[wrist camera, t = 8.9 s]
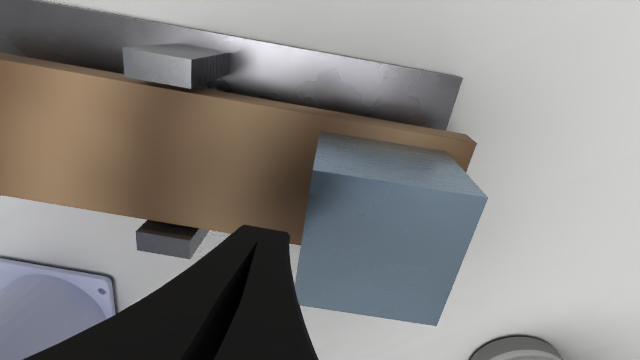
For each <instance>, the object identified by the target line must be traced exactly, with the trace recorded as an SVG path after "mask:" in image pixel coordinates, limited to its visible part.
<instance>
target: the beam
mask: <svg viewBox="0 0 640 360" xmlns="http://www.w3.org/2000/svg"><path fill="white" fill-rule="evenodd" d="M320 131H323V132H330V133H336V134H342V135H348V136H354V137H361V138H367V139H373V140H379V141H386V142H392V143H398V144H404V145H411V146H417V147H423V148H429V149H436V150H442V151H447V152H448V154H449V155H450V156H451V157H452V158H453V159H454V160H455V161H456V163H457V164H458V165H459V166H460V167H461V168H462V169H463V170H464V171H465V173H466V171H467V168H468V165H469V163H470V160H471V157H472V155H473V152H474V149H475V147H476V144H477V143H476V142H475V141H473V140H472V139H471V138H470V137H468V136H467V135H466V134H460V133H455V132H449V131H443V130H438V129H432V128H426V127H421V126H415V125H409V124H403V123H398V122H392V121H386V120H381V119H375V118H369V117H364V116H358V115H352V114H347V113H341V112H335V111H330V110H324V109H318V108H313V107H307V106H301V105H296V104H290V103H284V102H278V101H273V100H267V99H261V98H256V97H250V96H244V95H239V94H233V93H227V92H222V91H216V90H210V89H205V88H199V87H194V88H192V89H189V88H184V87H178V86H172V85H167V84H161V83H156V82H150V81H144V80H139V79H133V78H128V77H124V74H119V73H114V72H108V71H102V70H97V69H91V68H85V67H80V66H74V65H68V64H63V63H57V62H51V61H46V60H40V59H34V58H28V57H23V56H17V55H11V54H6V53H0V195H3V196H9V197H15V198H21V199H27V200H33V201H39V202H45V203H51V204H57V205H63V206H69V207H75V208H81V209H87V210H93V211H99V212H105V213H111V214H117V215H123V216H129V217H135V218H141V219H147V220H153V221H159V222H165V223H171V224H177V225H183V226H189V227H195V228H201V229H207V230H213V231H219V232H225V233H231V234H232V233H233V232H234V231H236V230H237V229H238V228H239V227H241V226H242V225H250V226H255V227H261V228H267V229H272V230H278V231H284V232H288V234H289V235H290V236H291V237H290V243H291V244H296V245H301V243H302V237H303V230H304V224H305V217H306V211H307V204H308V197H309V191H310V184H311V178H312V171H313V166H314V160H315V155H316V150H317V144H318V139H319V133H320Z"/></svg>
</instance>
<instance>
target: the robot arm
mask: <svg viewBox="0 0 640 360" xmlns="http://www.w3.org/2000/svg"><path fill="white" fill-rule="evenodd" d="M290 237H291V236H290V235H289V234H288V232H284V231H278V230H272V229H267V228H261V227H255V226H250V225H242V226H241V227H239V228H238V229H237V230H236V231H234V232H233V233H232V234H231V235H230V236H229V237H227V238H226V239H225V240H224V241H223V242H221V243H220V244H219V245H218V246H217V247H215V248H214V249H213V250H212V251H210V252H209V253H208V254H206V255H205V256H204V257H203V258H201V259H200V260H199V261H197V262H196V263H195V264H193V265H192V266H191V267H189V268H188V269H187V270H185V271H184V272H182V273H181V274H179V275H178V276H176V277H175V278H174V279H172V280H171V281H169V282H168V283H166V284H165V285H163V286H162V287H160V288H159V289H157V290H156V291H154V292H153V293H151V294H149V295H148V296H146V297H145V298H143V299H141V300H140V301H138V302H136V303H135V304H133V305H131V306H129V307H128V308H126V309H124V310H123V311H121V312H119V313H117V314H116V313H115V305H114V296H113V288H112V282H111V280H110V279H109V278H108V277H105V276H100V275H94V274H89V273H83V272H77V271H71V270H65V269H60V268H54V267H48V266H42V265H36V264H31V263H25V262H19V261H13V260H7V259H2V258H0V360H318V357H317V355H316V353H315V350H314V348H313V345H312V342H311V340H310V337H309V334H308V331H307V328H306V326H305V323H304V319H303V316H302V313H301V309H300V306H299V302H298V299H297V295H296V291H295V286H294V281H293V276H292V271H291V265H290V255H289V243H290Z"/></svg>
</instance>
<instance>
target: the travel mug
mask: <svg viewBox="0 0 640 360" xmlns="http://www.w3.org/2000/svg"><path fill="white" fill-rule="evenodd" d="M470 360H563V359H562V358H561V356H560V355H559V353H558V352H557V351H556V349H554V348H553V347H552V346H551V345H549V344H547V343H545V342H543V341H541V340H538V339H535V338H530V337H509V338H503V339H500V340H496V341H494V342H491V343H489V344H487V345H485V346H484V347H482V348H481V349H479V350H478V351H477V352H476V353H475V354H474V355H473V356H472V358H471V359H470Z"/></svg>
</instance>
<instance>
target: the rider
mask: <svg viewBox="0 0 640 360" xmlns="http://www.w3.org/2000/svg"><path fill="white" fill-rule="evenodd" d="M487 199H488V197H487V196H486V195H485V194H484V193H483V192H482V190H481V189H480V188H479V187H478V186H477V185H476V184H475V183H474V182H473V180H472V179H471V178H470V177H469V176H468V175H467V174H466V173H465V171H464V170H463V169H462V168H461V167H460V166H459V165H458V164H457V163H456V161H455V160H454V159H453V158H452V157H451V156H450V155H449V154H448V152H447V151H442V150H436V149H429V148H423V147H417V146H411V145H404V144H398V143H392V142H386V141H379V140H373V139H367V138H361V137H354V136H348V135H342V134H336V133H330V132H323V131H320V133H319V139H318V144H317V150H316V155H315V160H314V166H313V171H312V178H311V184H310V191H309V197H308V204H307V211H306V217H305V224H304V230H303V237H302V243H301V250H300V256H299V263H298V269H297V276H296V282H295V291H296V295H297V299H298V302H299V305H302V306H308V307H315V308H321V309H328V310H334V311H341V312H348V313H354V314H361V315H367V316H374V317H380V318H387V319H394V320H400V321H407V322H413V323H420V324H426V325H433V326H437V324H438V321H439V319H440V316H441V314H442V311H443V309H444V306H445V304H446V301H447V299H448V296H449V294H450V291H451V289H452V286H453V284H454V281H455V279H456V276H457V274H458V271H459V269H460V266H461V264H462V261H463V259H464V256H465V254H466V251H467V249H468V246H469V244H470V241H471V239H472V236H473V234H474V231H475V229H476V226H477V224H478V222H479V219H480V217H481V214H482V212H483V209H484V207H485V204H486V202H487Z"/></svg>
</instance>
